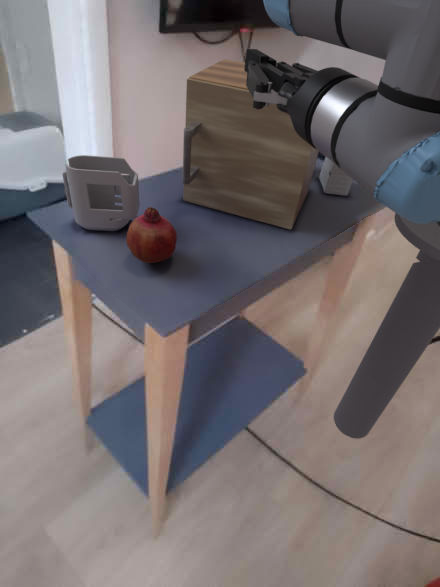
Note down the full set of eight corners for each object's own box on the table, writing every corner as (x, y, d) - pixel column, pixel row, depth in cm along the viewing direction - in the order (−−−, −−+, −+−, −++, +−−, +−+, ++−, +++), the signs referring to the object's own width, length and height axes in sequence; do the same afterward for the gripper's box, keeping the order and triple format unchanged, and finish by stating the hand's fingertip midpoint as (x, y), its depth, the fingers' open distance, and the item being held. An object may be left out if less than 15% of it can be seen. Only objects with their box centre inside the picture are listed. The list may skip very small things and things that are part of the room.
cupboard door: (285, 243, 74) (316, 115, 59) (172, 211, 79) (173, 85, 64) (292, 227, 79) (322, 104, 63) (184, 198, 84) (188, 77, 68)
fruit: (161, 241, 71) (160, 191, 65) (185, 264, 67) (187, 213, 60) (120, 254, 67) (115, 202, 61) (143, 280, 63) (140, 227, 56)
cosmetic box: (318, 178, 97) (335, 116, 87) (342, 180, 98) (361, 119, 88) (324, 194, 91) (343, 129, 81) (349, 197, 91) (372, 132, 82)
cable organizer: (137, 235, 72) (133, 173, 64) (68, 231, 71) (55, 168, 63) (141, 216, 77) (138, 156, 69) (76, 212, 76) (66, 151, 68)
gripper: (276, 157, 40) (205, 89, 56) (380, 150, 44) (285, 88, 60) (291, 76, 35) (208, 26, 51) (407, 76, 39) (296, 30, 55)
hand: (250, 60), depth 55 cm, fingers closed
